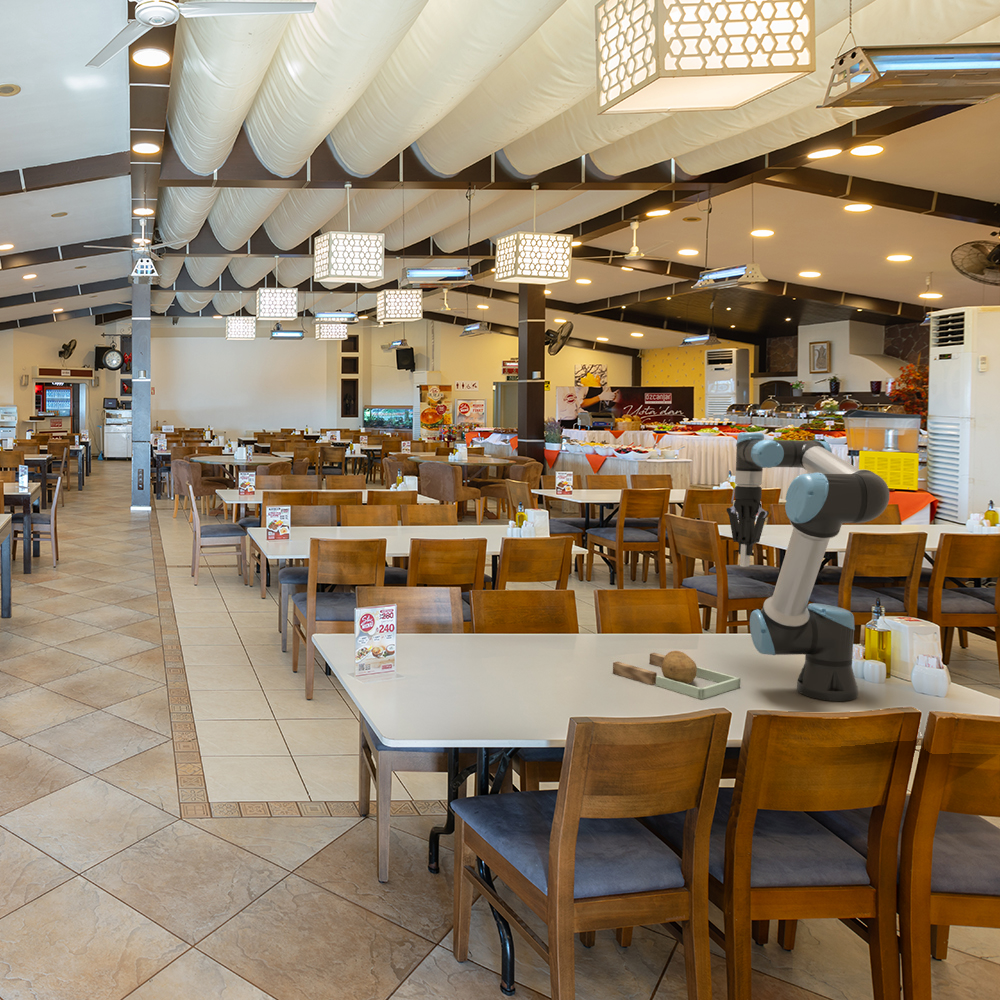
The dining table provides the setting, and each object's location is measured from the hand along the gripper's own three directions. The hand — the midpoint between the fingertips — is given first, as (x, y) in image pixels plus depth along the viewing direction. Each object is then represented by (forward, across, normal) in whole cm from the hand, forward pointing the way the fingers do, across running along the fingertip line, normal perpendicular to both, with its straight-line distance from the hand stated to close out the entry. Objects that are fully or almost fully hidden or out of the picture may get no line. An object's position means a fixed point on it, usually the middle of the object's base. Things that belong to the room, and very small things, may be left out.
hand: (744, 566), depth 254 cm
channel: (+29, +10, +28) cm, 42 cm away
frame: (+29, -6, +28) cm, 41 cm away
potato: (+30, -1, +30) cm, 42 cm away
